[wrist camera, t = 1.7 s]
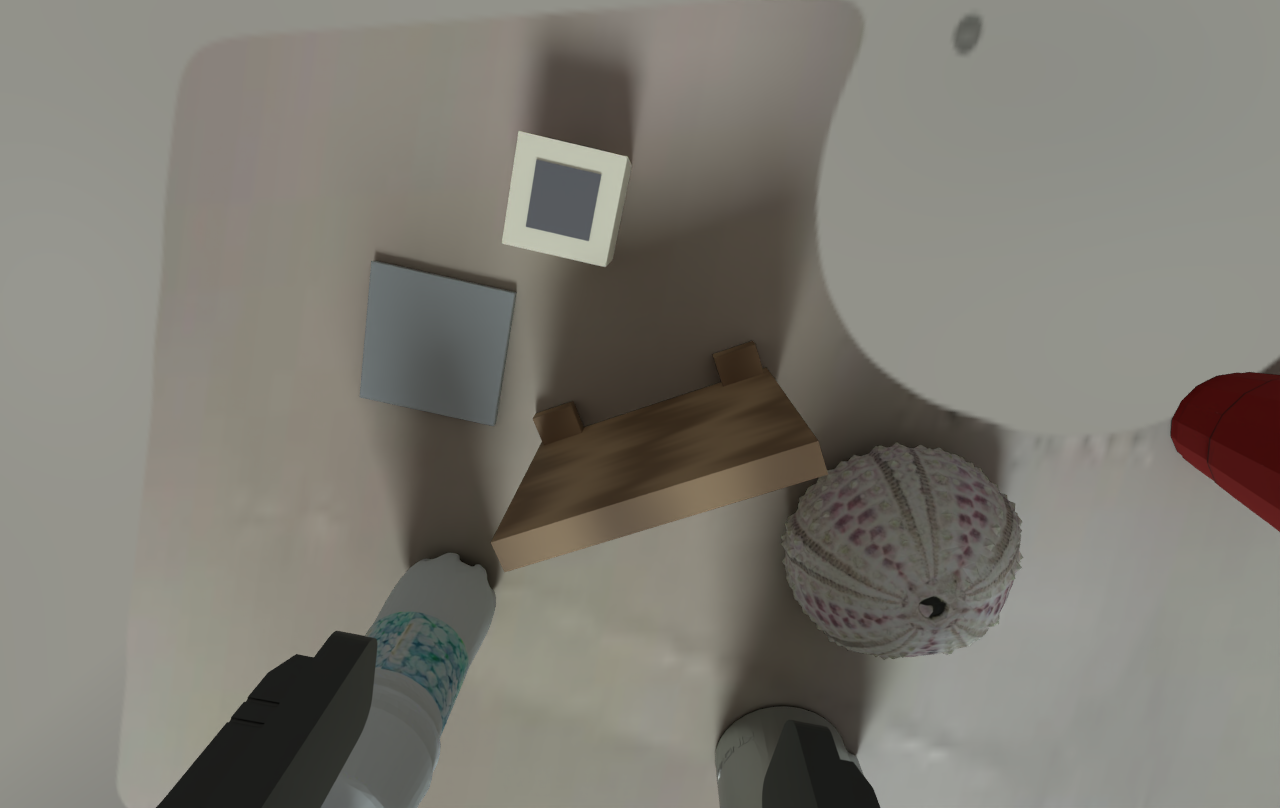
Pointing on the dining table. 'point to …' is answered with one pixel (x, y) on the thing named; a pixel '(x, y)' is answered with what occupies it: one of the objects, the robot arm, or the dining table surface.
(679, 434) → the walnut screen
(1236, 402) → the plastic cup
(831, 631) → the sea urchin shell
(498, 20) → the dining table surface
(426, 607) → the bottle
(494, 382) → the slate coaster
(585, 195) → the white marker cube
